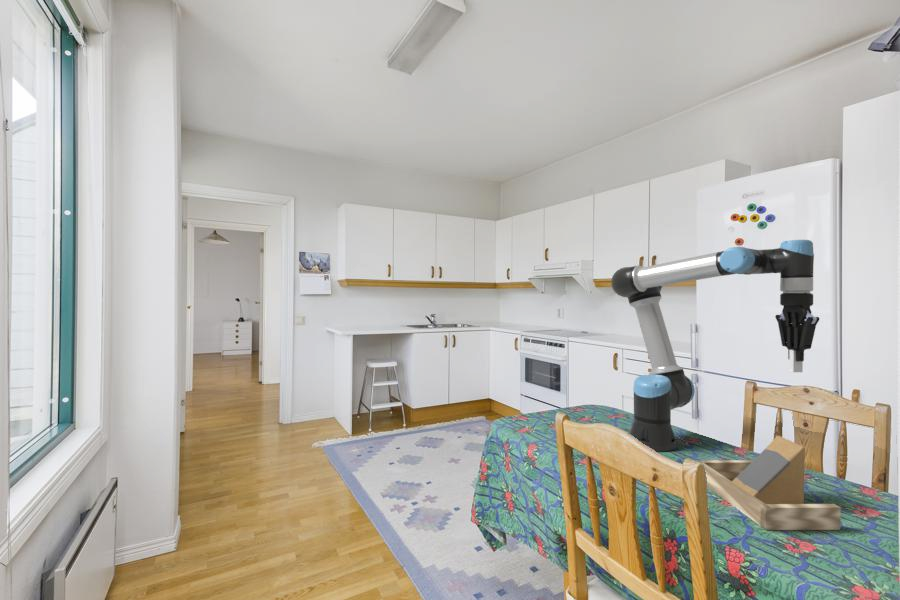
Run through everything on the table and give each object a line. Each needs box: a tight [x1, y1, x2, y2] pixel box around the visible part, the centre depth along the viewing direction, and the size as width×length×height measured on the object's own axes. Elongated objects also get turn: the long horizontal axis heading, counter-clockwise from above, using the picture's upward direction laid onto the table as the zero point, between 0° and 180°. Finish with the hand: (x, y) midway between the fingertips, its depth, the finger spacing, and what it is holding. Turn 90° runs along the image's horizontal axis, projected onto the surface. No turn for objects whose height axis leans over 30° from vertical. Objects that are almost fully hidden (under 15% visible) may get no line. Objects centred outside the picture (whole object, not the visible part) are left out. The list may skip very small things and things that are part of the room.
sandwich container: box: [731, 435, 806, 504], centre depth 107 cm, size 9×15×15 cm, turn 90°
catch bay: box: [695, 459, 842, 531], centre depth 105 cm, size 17×26×5 cm, turn 0°
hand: (795, 371), depth 123 cm, fingers closed
